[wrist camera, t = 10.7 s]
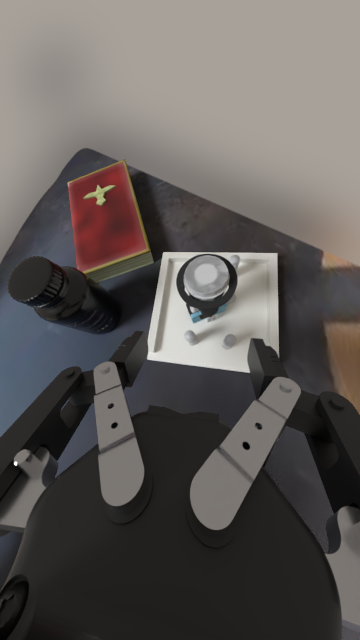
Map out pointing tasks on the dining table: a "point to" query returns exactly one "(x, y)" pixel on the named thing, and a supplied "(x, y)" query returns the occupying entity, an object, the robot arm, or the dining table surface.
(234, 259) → the tray
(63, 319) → the supplement bottle
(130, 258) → the hardcover book
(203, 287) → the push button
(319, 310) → the dining table surface
